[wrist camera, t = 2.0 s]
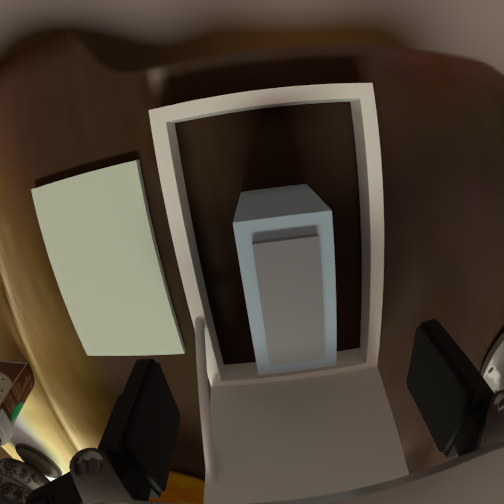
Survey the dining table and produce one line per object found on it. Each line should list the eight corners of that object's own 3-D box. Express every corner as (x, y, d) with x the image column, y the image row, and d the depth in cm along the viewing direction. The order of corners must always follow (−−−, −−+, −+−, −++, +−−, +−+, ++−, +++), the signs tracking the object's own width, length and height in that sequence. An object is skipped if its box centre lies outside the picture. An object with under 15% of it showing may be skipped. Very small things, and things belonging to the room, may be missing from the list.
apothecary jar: (29, 468, 40) (-1, 532, 23) (1, 431, 36) (-40, 500, 19) (77, 486, 40) (51, 559, 23) (50, 450, 36) (11, 533, 19)
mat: (139, 159, 21) (136, 160, 21) (185, 349, 27) (184, 353, 26) (35, 188, 22) (31, 189, 21) (89, 351, 27) (87, 355, 27)
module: (306, 183, 22) (333, 212, 14) (315, 299, 25) (337, 369, 17) (241, 191, 22) (231, 225, 14) (258, 306, 25) (258, 379, 17)
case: (361, 87, 19) (580, 26, 2) (366, 382, 28) (420, 547, 11) (158, 112, 20) (-71, 94, 3) (222, 401, 29) (204, 574, 12)
